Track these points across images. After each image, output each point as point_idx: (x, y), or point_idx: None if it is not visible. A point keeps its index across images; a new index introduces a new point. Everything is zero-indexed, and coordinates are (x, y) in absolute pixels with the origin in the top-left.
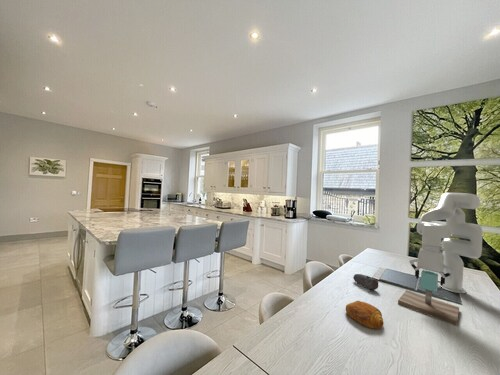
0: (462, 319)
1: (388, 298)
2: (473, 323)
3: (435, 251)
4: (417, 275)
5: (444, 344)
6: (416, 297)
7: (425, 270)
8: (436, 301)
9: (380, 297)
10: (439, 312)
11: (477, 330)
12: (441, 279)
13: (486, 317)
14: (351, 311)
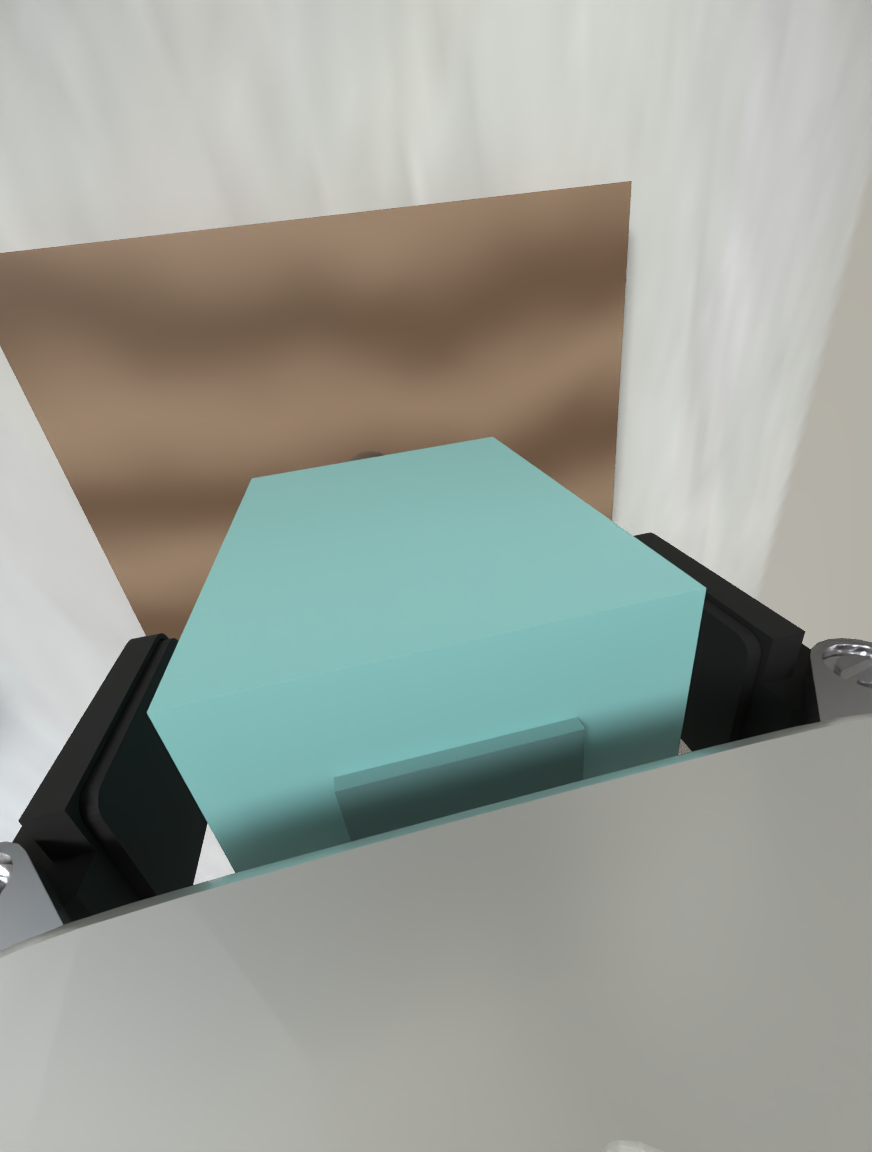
0: (625, 418)
1: (67, 661)
2: (693, 409)
3: None
4: (200, 817)
5: None
6: (218, 431)
7: (274, 749)
8: (408, 291)
9: (24, 714)
10: None
11: (699, 518)
12: (702, 744)
13: (839, 41)
14: None
